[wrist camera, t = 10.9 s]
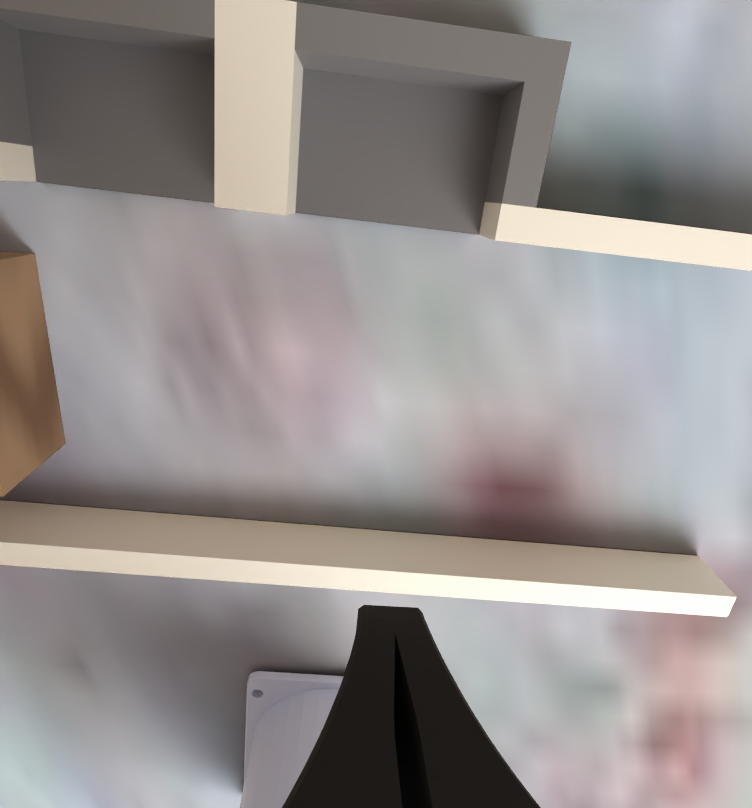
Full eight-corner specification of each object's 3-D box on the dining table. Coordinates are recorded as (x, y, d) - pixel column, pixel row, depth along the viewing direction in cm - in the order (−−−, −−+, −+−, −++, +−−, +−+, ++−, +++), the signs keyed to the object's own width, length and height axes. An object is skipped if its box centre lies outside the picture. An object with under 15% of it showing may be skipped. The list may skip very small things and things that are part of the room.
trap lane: (690, 574, 23) (744, 637, 20) (-156, 509, 21) (-252, 567, 18) (881, 112, 17) (1008, 93, 13) (-327, -60, 14) (-530, -134, 11)
